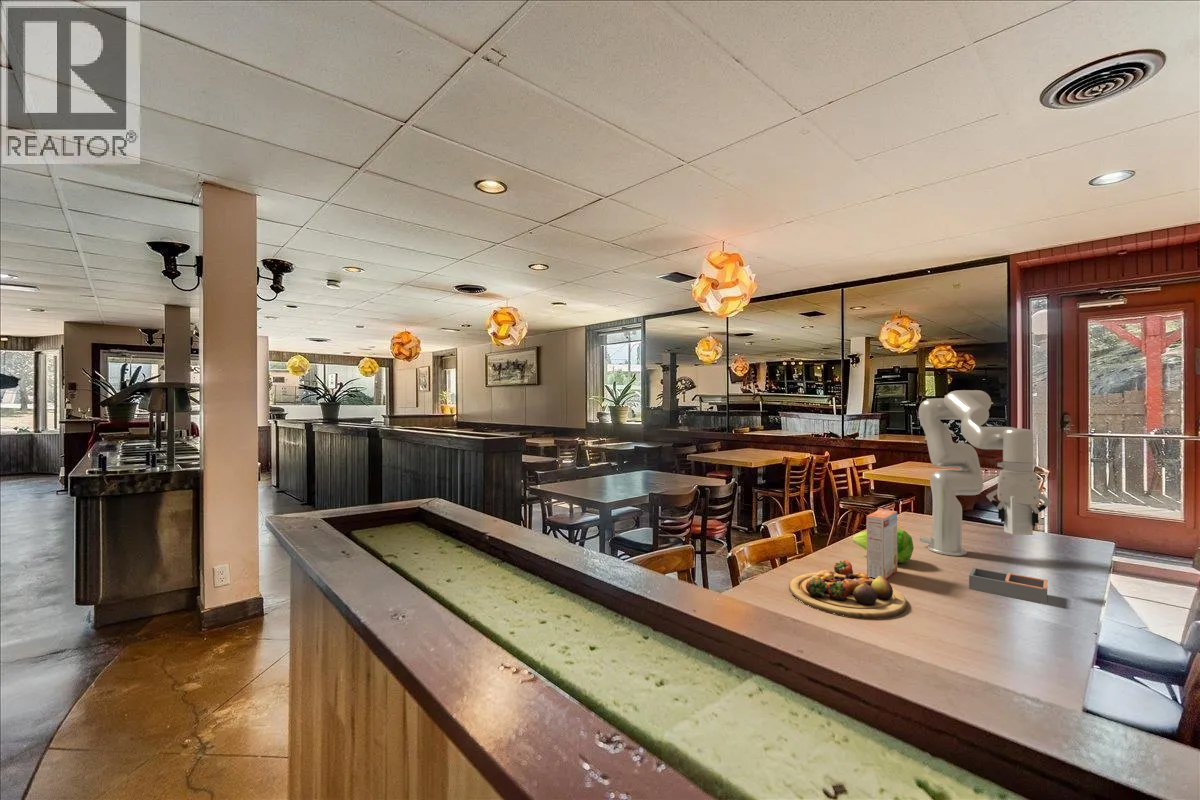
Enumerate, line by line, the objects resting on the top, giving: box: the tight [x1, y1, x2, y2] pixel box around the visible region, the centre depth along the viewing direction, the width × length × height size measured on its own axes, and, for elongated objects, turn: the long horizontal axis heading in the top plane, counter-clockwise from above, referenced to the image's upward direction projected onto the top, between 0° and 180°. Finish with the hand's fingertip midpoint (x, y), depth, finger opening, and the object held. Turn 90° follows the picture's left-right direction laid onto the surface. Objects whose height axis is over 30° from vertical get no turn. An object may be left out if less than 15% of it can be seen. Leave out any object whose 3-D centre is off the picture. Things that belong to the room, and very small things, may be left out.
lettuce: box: [852, 528, 915, 564], centre depth 191 cm, size 14×20×12 cm
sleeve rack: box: [968, 567, 1048, 605], centre depth 160 cm, size 18×10×4 cm, turn 48°
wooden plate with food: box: [788, 559, 907, 620], centre depth 156 cm, size 32×32×8 cm
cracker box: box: [865, 508, 898, 580], centre depth 175 cm, size 14×6×21 cm, turn 135°
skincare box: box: [1003, 497, 1034, 536], centre depth 164 cm, size 6×4×12 cm
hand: (1018, 522), depth 164 cm, fingers closed on skincare box, 7 cm apart
